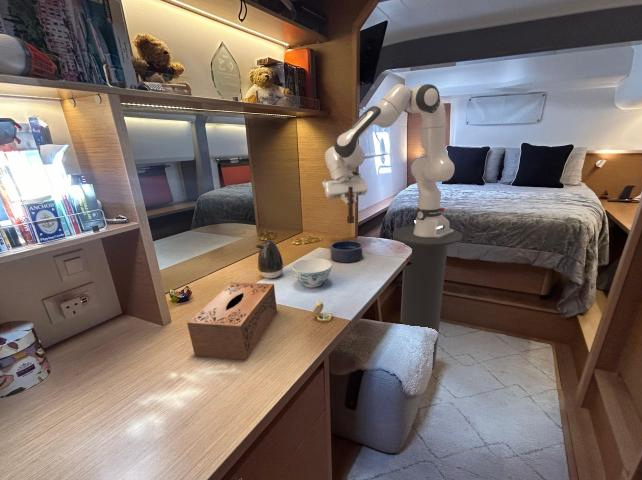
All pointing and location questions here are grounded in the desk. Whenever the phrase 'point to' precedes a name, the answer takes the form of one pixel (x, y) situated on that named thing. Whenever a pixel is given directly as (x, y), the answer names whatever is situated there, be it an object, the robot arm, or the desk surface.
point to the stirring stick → (350, 206)
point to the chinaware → (312, 271)
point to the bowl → (346, 251)
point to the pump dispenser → (269, 260)
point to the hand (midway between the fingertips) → (351, 203)
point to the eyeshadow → (323, 316)
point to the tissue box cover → (233, 320)
